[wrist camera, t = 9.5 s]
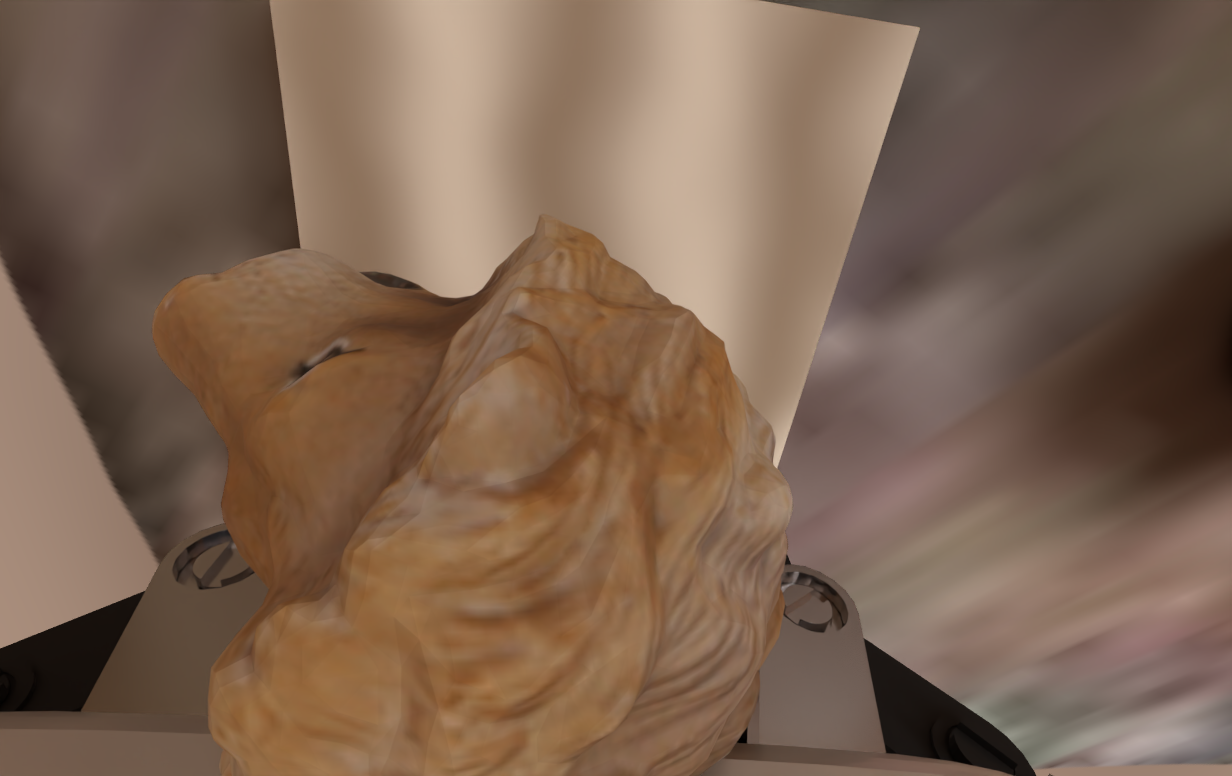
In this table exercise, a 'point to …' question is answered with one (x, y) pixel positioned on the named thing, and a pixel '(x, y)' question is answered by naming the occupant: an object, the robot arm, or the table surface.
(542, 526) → the lion figurine
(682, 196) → the birch plinth
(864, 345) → the table surface
